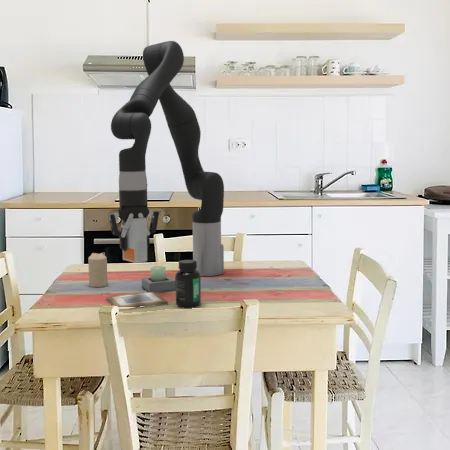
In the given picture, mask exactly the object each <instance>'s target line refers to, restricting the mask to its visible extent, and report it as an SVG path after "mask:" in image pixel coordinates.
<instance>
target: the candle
mask: <svg viewBox="0 0 450 450" xmlns="http://www.w3.org/2000/svg"><path fill="white" fill-rule="evenodd" d="M87 261H88V284H89V287H91V288H101V287H102V288H103V287H106V286H108V260H107V256H106V255H105V254H104V253H103V252H100V253H96V252H92V253H91V255H90V256H88V260H87Z"/></svg>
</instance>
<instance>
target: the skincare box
mask: <svg viewBox="0 0 450 450" xmlns="http://www.w3.org/2000/svg"><path fill="white" fill-rule="evenodd" d="M122 222H123V223H124V221H123V220H122V219H121V223H122ZM147 223H148V221H147V217H146V218H133V219H131V220H130V226H129V229H128V230H127V233H126V235H125V237H126V246H127V251H123V250H122V260H123V261H127V262H131V263H134V264H138V263H144V262H148V249H147V227H148V224H147ZM124 225H125V223H124Z"/></svg>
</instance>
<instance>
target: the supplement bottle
mask: <svg viewBox="0 0 450 450" xmlns="http://www.w3.org/2000/svg"><path fill="white" fill-rule="evenodd" d="M177 267H178V271H176V273H175V275H174V277H175V278H174V280H175V289H176V291H175V305H176V306H177V308H182V307H184V308H183V309H191V308H192V307H194V308H197V306H198V307H200V306H201V304H202V283H201V279H202V276H201V275H200V273H199V271H197V270H196V268H197V261H195V260H193V259H184V260H183V259H182V260H179V261H178V266H177Z"/></svg>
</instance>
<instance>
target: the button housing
mask: <svg viewBox="0 0 450 450" xmlns="http://www.w3.org/2000/svg"><path fill="white" fill-rule="evenodd" d="M141 288H142V289H143V290H144V291H146V292H156V293H157V294H160V293H168V292H176V289H175V278H174V279H173V278H172V277H170V276H169V275H167V274H166V281H158V282H152V281H151V276H147V277H141Z"/></svg>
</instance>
